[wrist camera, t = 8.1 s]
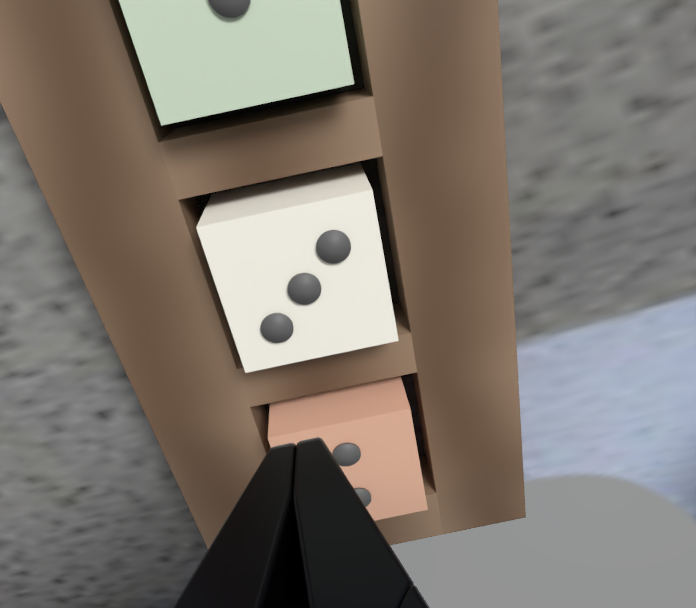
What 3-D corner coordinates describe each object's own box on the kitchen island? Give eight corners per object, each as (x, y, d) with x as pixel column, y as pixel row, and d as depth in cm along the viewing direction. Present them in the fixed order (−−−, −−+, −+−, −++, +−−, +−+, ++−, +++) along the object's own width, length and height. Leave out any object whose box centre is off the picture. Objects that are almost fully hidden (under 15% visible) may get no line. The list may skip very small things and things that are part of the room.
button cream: (360, 162, 16) (373, 191, 14) (383, 294, 18) (399, 342, 16) (211, 193, 16) (195, 228, 14) (252, 322, 18) (245, 374, 16)
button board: (449, -322, 12) (477, -382, 10) (508, 478, 23) (525, 517, 21) (-92, -201, 12) (-159, -241, 10) (227, 536, 23) (222, 579, 21)
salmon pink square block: (394, 355, 20) (411, 410, 17) (411, 449, 22) (428, 512, 19) (271, 381, 20) (267, 440, 17) (299, 472, 22) (300, 538, 19)
